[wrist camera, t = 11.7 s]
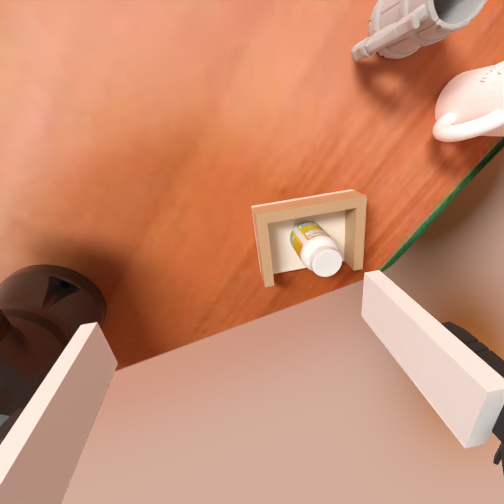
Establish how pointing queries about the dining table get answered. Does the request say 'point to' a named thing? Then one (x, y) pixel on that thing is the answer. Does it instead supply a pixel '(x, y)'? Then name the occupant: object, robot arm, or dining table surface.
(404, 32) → the mug
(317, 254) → the supplement bottle
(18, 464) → the robot arm
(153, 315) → the dining table surface
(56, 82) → the dining table surface
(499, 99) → the mug
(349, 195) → the u rest
